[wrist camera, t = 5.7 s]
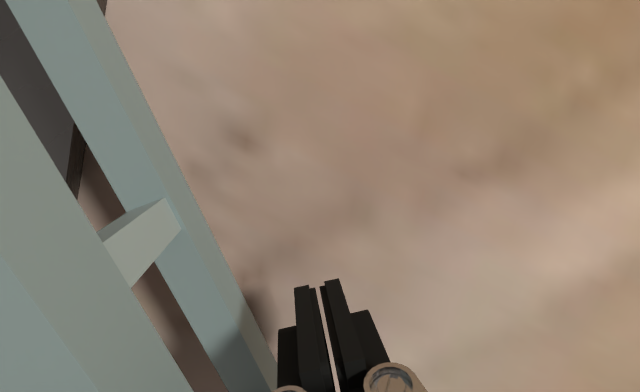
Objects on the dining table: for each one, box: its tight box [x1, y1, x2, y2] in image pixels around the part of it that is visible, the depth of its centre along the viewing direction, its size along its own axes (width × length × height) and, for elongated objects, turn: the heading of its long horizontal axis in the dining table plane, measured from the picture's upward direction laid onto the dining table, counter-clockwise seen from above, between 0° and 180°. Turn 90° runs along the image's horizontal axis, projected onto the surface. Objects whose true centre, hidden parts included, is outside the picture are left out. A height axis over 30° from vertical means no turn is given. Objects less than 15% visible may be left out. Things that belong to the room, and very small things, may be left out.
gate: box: [0, 0, 277, 392], centre depth 9 cm, size 20×2×8 cm, turn 20°
